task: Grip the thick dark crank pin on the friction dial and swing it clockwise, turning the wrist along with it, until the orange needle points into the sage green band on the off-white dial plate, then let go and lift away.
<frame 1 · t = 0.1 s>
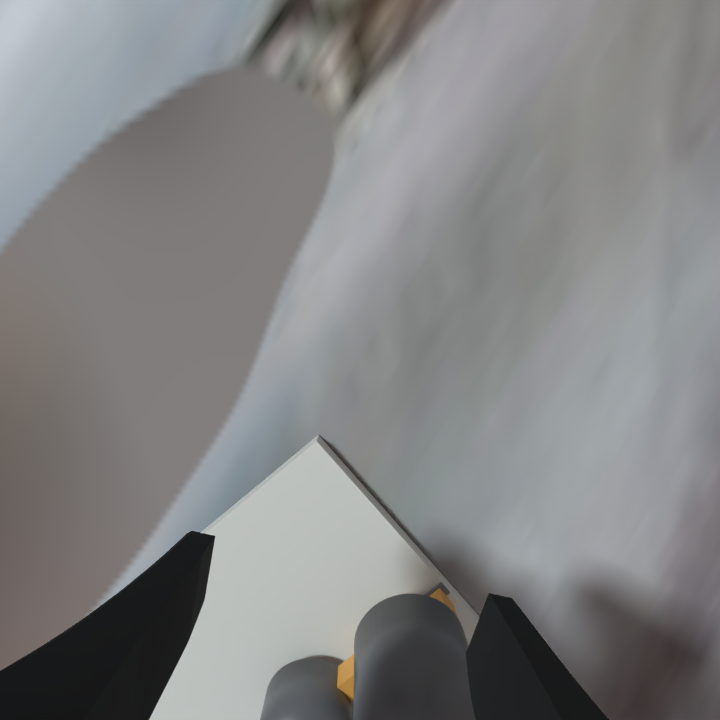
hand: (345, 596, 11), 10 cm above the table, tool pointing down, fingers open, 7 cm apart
dial plate: (314, 672, 23), on the table
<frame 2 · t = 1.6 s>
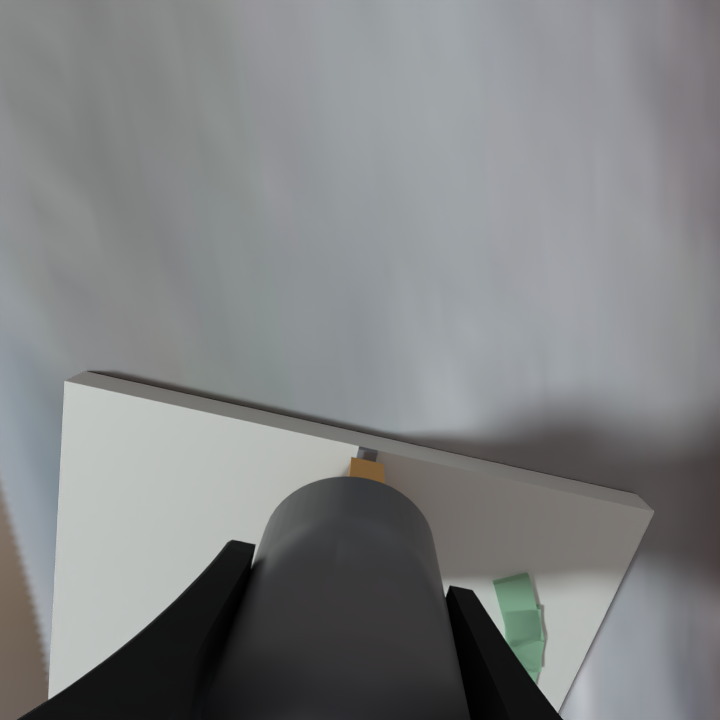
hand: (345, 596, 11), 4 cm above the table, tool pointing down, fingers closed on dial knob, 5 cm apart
dial plate: (317, 629, 17), on the table
dial knob: (321, 689, 12), point 5 cm above the table, hinge at 0.0°, touching gripper
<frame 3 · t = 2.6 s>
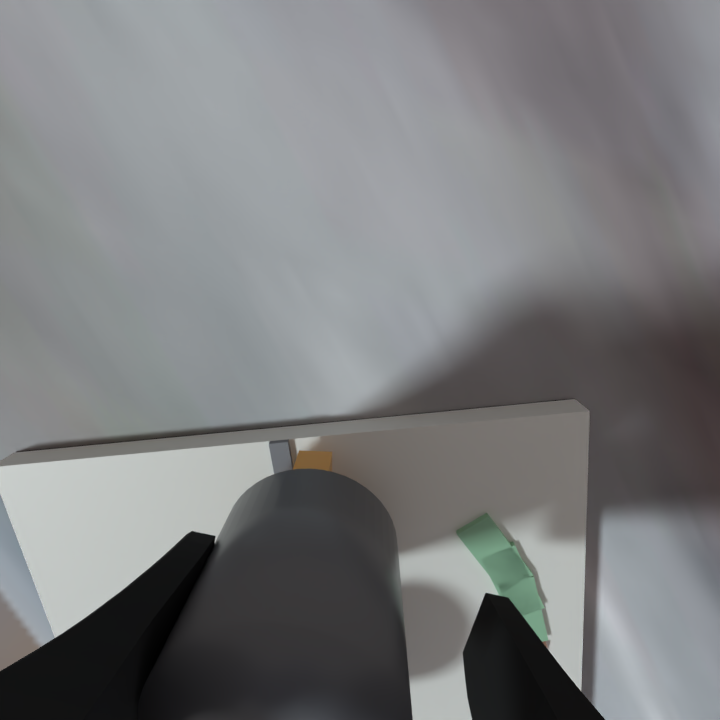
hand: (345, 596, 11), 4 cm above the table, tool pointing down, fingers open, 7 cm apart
dial plate: (320, 628, 17), on the table
dial knob: (301, 685, 12), point 5 cm above the table, hinge at -8.2°, touching gripper
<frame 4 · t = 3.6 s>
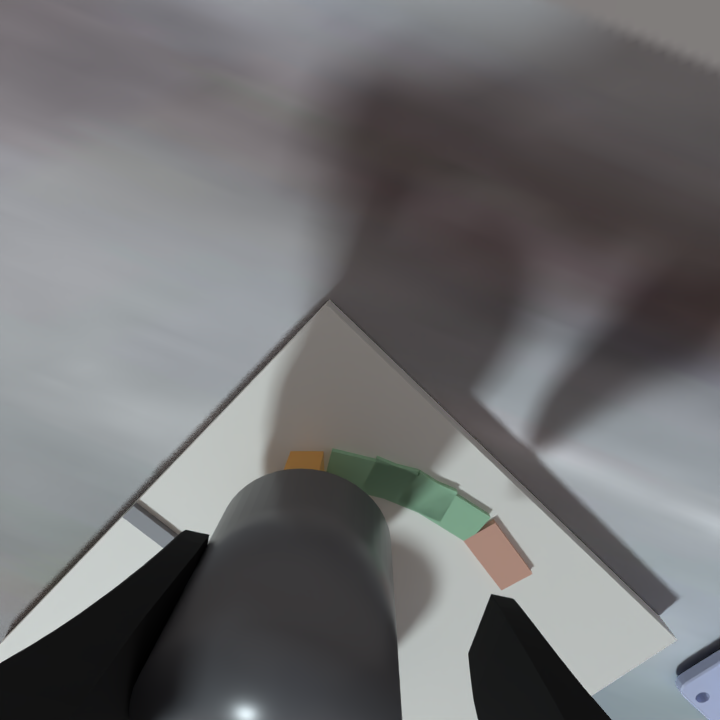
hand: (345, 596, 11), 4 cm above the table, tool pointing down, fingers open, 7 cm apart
dial plate: (321, 628, 17), on the table
dial knob: (299, 684, 12), point 5 cm above the table, hinge at -45.4°, touching gripper
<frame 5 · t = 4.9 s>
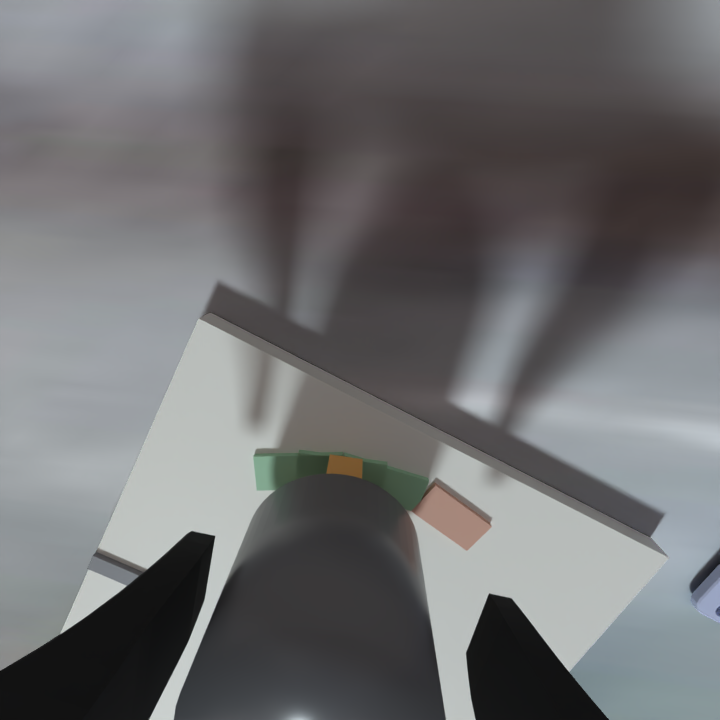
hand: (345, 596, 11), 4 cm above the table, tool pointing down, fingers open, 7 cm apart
dial plate: (317, 630, 17), on the table
dial knob: (312, 688, 12), point 5 cm above the table, hinge at -70.6°
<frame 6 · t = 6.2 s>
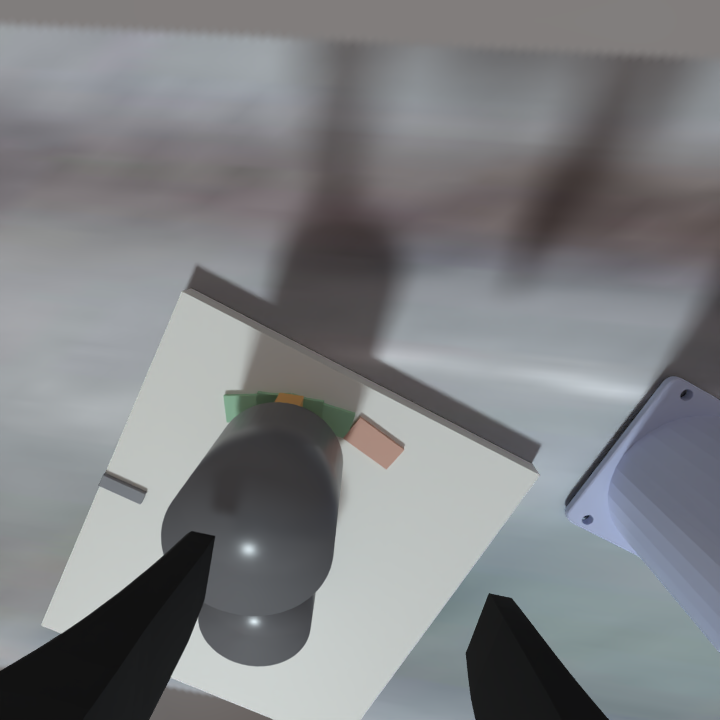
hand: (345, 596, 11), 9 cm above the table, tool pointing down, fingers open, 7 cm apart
dial plate: (278, 541, 22), on the table
dial knob: (262, 554, 17), point 5 cm above the table, hinge at -70.6°
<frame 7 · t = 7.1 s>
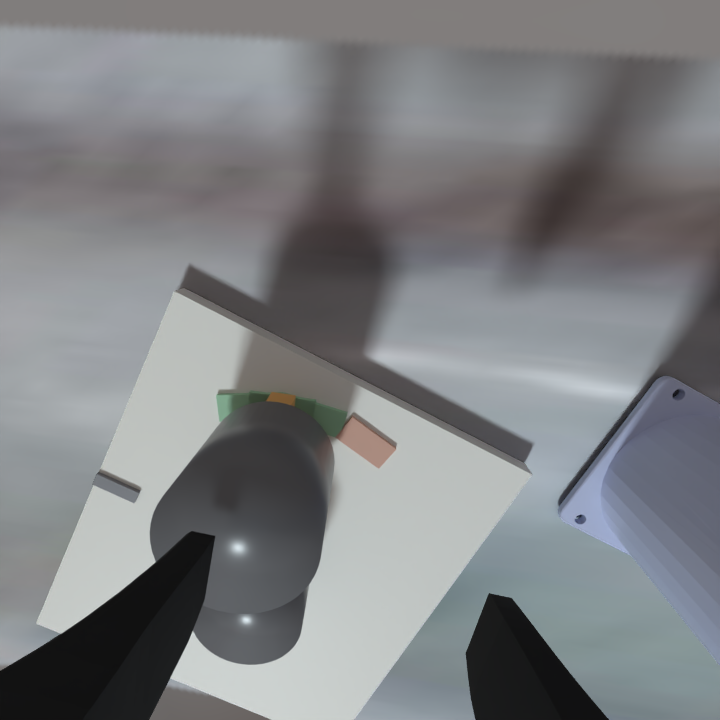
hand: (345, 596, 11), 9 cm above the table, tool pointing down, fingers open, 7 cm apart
dial plate: (271, 540, 22), on the table
dial knob: (253, 552, 17), point 5 cm above the table, hinge at -70.6°
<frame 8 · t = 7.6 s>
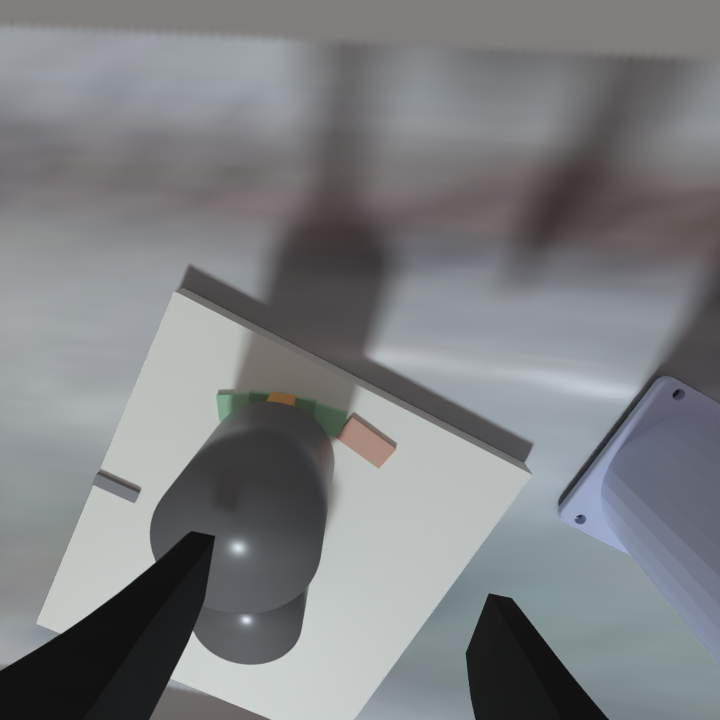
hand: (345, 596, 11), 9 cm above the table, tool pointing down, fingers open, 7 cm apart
dial plate: (271, 540, 22), on the table
dial knob: (253, 552, 17), point 5 cm above the table, hinge at -70.6°
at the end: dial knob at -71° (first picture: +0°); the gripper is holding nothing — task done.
